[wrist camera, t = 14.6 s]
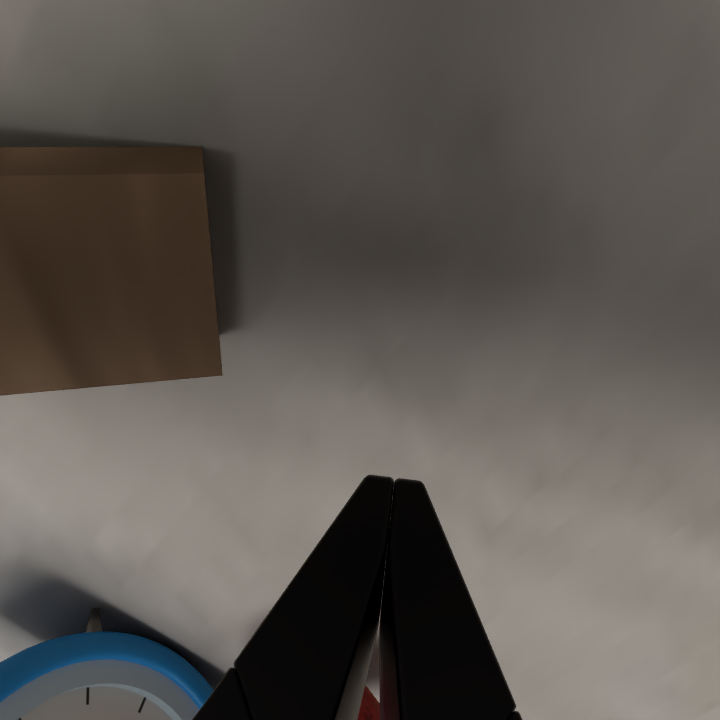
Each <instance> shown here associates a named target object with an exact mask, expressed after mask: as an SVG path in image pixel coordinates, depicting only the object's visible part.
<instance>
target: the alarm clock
mask: <svg viewBox="0 0 720 720" xmlns="http://www.w3.org/2000/svg"><path fill="white" fill-rule="evenodd" d="M213 691H214V690H213V689H212V688H211V686H210V685H209V684H208V682H207V681H206V680H205V679H204V677H203V676H202V675H201V674H200V673H199V672H198V671H197V670H196V669H195V668H194V667H193V666H192V665H191V664H190V663H188V662H187V661H186V660H185V659H184V658H182V657H181V656H180V655H178V654H177V653H175V652H174V651H172V650H171V649H169V648H167V647H165V646H163V645H161V644H159V643H157V642H155V641H152V640H149V639H147V638H144V637H140V636H137V635H133V634H128V633H120V632H105V631H102V626H101V618H100V609H99V608H93V609H91V611H90V616H89V620H88V625H87V630H86V632H85V633H77V634H72V635H67V636H62V637H58V638H55V639H52V640H48V641H45V642H42V643H40V644H37V645H35V646H32V647H30V648H27V649H25V650H23V651H21V652H19V653H17V654H15V655H13V656H11V657H9V658H7V659H6V660H4V661H2V662H0V720H192V719H193V718H194V716H195V715H196V714H197V712H198V711H199V710H200V708H201V707H202V706H203V704H204V703H205V702H206V700H207V699H208V698H209V696H210V695H211V694H212V692H213Z"/></svg>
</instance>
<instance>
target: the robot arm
mask: <svg viewBox="0 0 720 720" xmlns="http://www.w3.org/2000/svg"><path fill="white" fill-rule="evenodd" d="M393 487H394V490H393ZM392 497H393V499H392ZM391 507H392V509H391ZM390 516H391V518H390ZM389 526H390V527H389ZM388 535H389V536H388ZM387 544H388V546H387ZM386 554H387V555H386ZM385 563H386V565H385ZM384 572H385V575H384ZM383 582H384V584H383ZM382 591H383V594H382ZM381 600H382V603H381ZM380 610H381V614H380ZM379 617H380V628H379V668H380V720H522V718H521V715H520V713H519V712H517V711H515V708H516V704H515V702H514V699H513V697H512V695H511V692H510V690H509V687H508V685H507V682H506V680H505V678H504V675H503V673H502V670H501V668H500V666H499V663H498V661H497V658H496V656H495V654H494V651H493V649H492V646H491V644H490V642H489V639H488V637H487V634H486V632H485V630H484V627H483V625H482V622H481V620H480V618H479V615H478V613H477V610H476V608H475V606H474V603H473V601H472V598H471V596H470V594H469V591H468V589H467V586H466V584H465V582H464V579H463V577H462V574H461V572H460V570H459V567H458V565H457V562H456V560H455V558H454V555H453V553H452V550H451V548H450V545H449V543H448V541H447V538H446V536H445V533H444V531H443V529H442V526H441V524H440V521H439V519H438V517H437V514H436V512H435V509H434V507H433V505H432V502H431V500H430V497H429V495H428V493H427V490H426V488H425V486H424V484H423V483H422V482H421V481H417V480H409V479H401V478H399V479H396V480H395V482H394V481H393V479H392V478H391V477H385V476H377V475H368V476H366V477H365V478H364V479H363V480H362V482H361V483H360V485H359V486H358V488H357V489H356V490H355V492H354V493H353V495H352V496H351V497H350V499H349V500H348V502H347V503H346V505H345V506H344V507H343V509H342V510H341V512H340V513H339V514H338V516H337V517H336V519H335V520H334V522H333V523H332V524H331V526H330V527H329V529H328V530H327V531H326V533H325V534H324V536H323V537H322V538H321V540H320V541H319V543H318V544H317V546H316V547H315V548H314V550H313V551H312V553H311V554H310V555H309V557H308V558H307V560H306V561H305V563H304V564H303V565H302V567H301V568H300V570H299V571H298V572H297V574H296V575H295V577H294V578H293V580H292V581H291V582H290V584H289V585H288V587H287V588H286V589H285V591H284V592H283V594H282V595H281V597H280V598H279V599H278V601H277V602H276V604H275V605H274V606H273V608H272V609H271V611H270V612H269V614H268V615H267V616H266V618H265V619H264V621H263V622H262V623H261V625H260V626H259V628H258V629H257V631H256V632H255V633H254V635H253V636H252V638H251V639H250V640H249V642H248V643H247V645H246V646H245V647H244V649H243V650H242V652H241V653H240V655H239V656H238V657H237V659H236V660H235V662H234V668H230V669H229V670H228V671H227V672H226V674H225V675H224V677H223V678H222V680H221V681H220V682H219V684H218V685H217V687H216V688H215V689H214V691H213V692H212V694H211V695H210V696H209V698H208V699H207V700H206V702H205V703H204V704H203V706H202V707H201V708H200V710H199V711H198V712H197V714H196V715H195V716H194V718H193V719H192V720H357V719H358V714H359V710H360V706H361V701H362V697H363V693H364V688H365V684H366V680H367V675H368V671H369V667H370V662H371V658H372V653H373V649H374V645H375V640H376V635H377V630H378V624H379Z"/></svg>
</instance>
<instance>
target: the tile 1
mask: <svg viewBox="0 0 720 720" xmlns="http://www.w3.org/2000/svg"><path fill="white" fill-rule="evenodd" d="M221 375H222V364H221V352H220V341H219V329H218V318H217V307H216V296H215V285H214V274H213V263H212V252H211V241H210V230H209V219H208V208H207V197H206V186H205V175H204V164H203V153H202V147H0V395H11V394H22V393H33V392H44V391H55V390H66V389H77V388H88V387H99V386H110V385H121V384H132V383H143V382H154V381H166V380H177V379H188V378H199V377H210V376H221Z"/></svg>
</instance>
